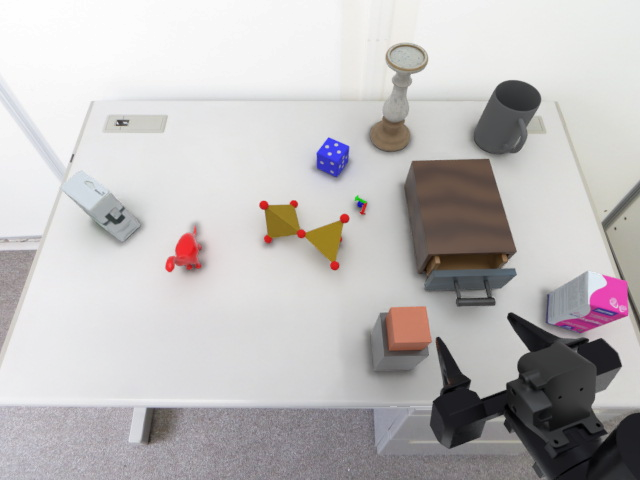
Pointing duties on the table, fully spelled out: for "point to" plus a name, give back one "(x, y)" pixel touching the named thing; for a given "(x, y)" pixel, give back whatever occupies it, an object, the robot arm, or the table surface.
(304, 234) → the molecule model
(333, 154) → the die
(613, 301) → the supplement box
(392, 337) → the block
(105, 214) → the ink box
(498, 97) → the mug
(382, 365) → the pedestal
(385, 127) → the candle holder
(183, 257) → the dinosaur
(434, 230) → the cabinet
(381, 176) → the table surface
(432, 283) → the drawer
